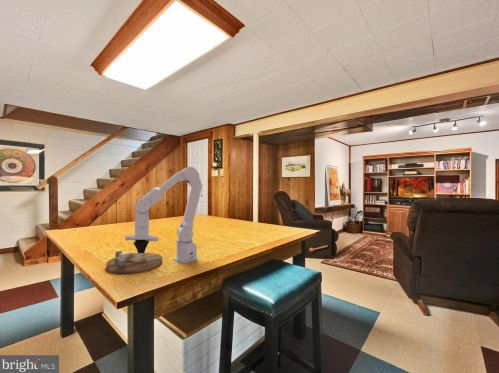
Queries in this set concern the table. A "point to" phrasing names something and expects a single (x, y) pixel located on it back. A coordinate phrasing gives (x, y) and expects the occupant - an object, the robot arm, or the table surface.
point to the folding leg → (131, 256)
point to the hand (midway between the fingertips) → (141, 256)
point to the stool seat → (133, 264)
